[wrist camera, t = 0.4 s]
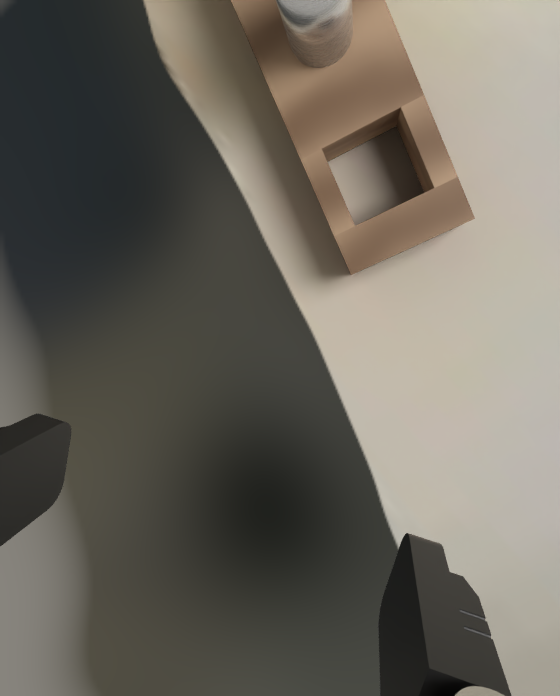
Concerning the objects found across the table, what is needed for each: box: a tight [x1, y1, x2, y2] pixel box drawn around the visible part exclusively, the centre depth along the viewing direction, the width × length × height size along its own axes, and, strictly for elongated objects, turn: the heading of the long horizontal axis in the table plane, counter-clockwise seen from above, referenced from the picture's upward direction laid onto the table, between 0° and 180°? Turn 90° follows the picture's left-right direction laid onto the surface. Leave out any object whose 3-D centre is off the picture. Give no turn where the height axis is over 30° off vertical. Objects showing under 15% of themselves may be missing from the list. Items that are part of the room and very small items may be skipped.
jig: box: [231, 0, 475, 275], centre depth 32 cm, size 25×8×4 cm, turn 25°
